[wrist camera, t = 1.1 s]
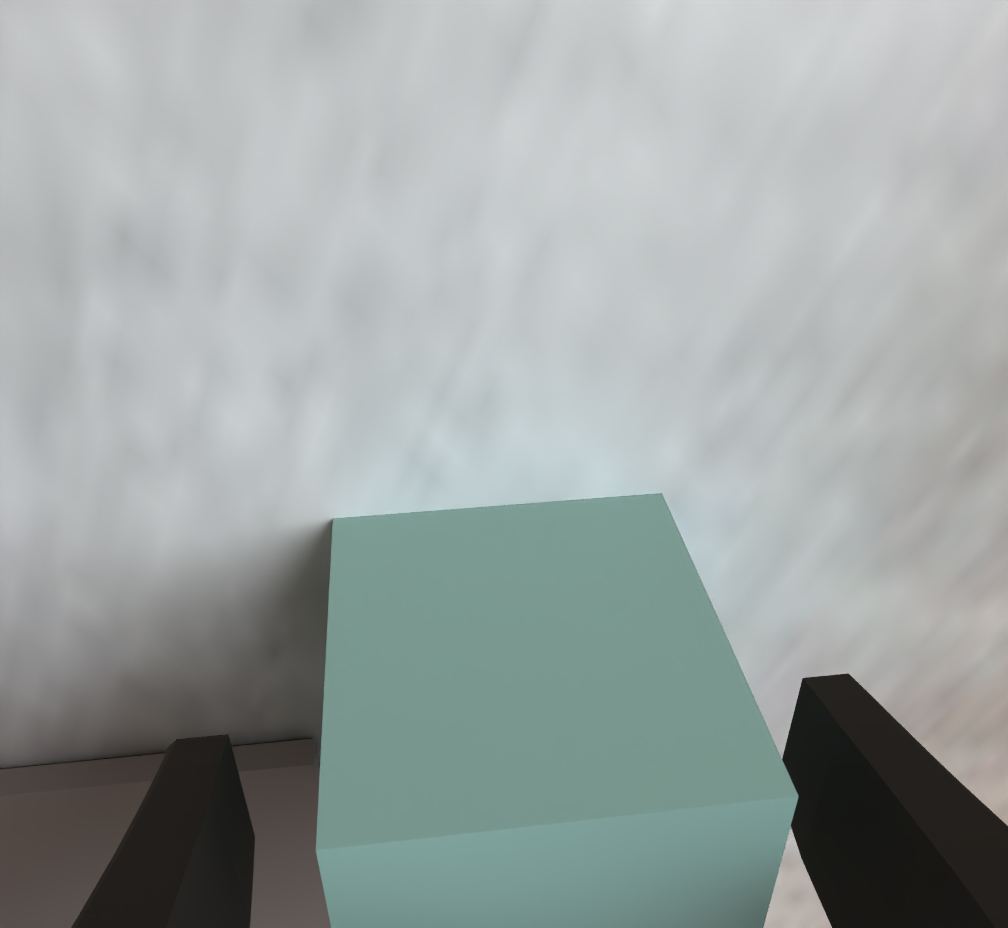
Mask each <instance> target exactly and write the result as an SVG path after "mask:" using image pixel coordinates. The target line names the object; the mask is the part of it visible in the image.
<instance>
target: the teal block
mask: <svg viewBox="0 0 1008 928" xmlns="http://www.w3.org/2000/svg"><path fill="white" fill-rule="evenodd" d="M798 797H799V796H798V794H797V792H796V789H795V787H794V785H793V783H792V781H791V778H790V776H789V774H788V772H787V769H786V767H785V765H784V763H783V761H782V758H781V756H780V754H779V752H778V750H777V747H776V745H775V743H774V741H773V738H772V736H771V734H770V732H769V730H768V727H767V725H766V723H765V721H764V719H763V716H762V714H761V712H760V710H759V707H758V705H757V703H756V701H755V699H754V696H753V694H752V692H751V690H750V687H749V685H748V683H747V681H746V679H745V676H744V674H743V672H742V670H741V668H740V665H739V663H738V661H737V659H736V656H735V654H734V652H733V650H732V648H731V645H730V643H729V641H728V639H727V637H726V634H725V632H724V630H723V628H722V625H721V623H720V621H719V619H718V617H717V614H716V612H715V610H714V608H713V606H712V603H711V601H710V599H709V597H708V594H707V592H706V590H705V588H704V586H703V583H702V581H701V579H700V577H699V575H698V572H697V570H696V568H695V566H694V563H693V561H692V559H691V557H690V555H689V552H688V550H687V548H686V546H685V544H684V541H683V539H682V537H681V535H680V532H679V530H678V528H677V526H676V524H675V521H674V519H673V517H672V515H671V512H670V510H669V508H668V506H667V504H666V501H665V499H664V497H663V495H662V493H659V494H646V495H633V496H620V497H607V498H594V499H581V500H568V501H555V502H542V503H529V504H516V505H503V506H490V507H477V508H464V509H451V510H438V511H425V512H412V513H399V514H386V515H373V516H360V517H347V518H334V519H333V525H332V544H331V564H330V583H329V603H328V622H327V642H326V661H325V680H324V700H323V719H322V739H321V758H320V777H319V797H318V816H317V836H316V854H317V859H318V864H319V869H320V874H321V879H322V884H323V889H324V894H325V899H326V904H327V909H328V914H329V919H330V924H331V928H763V926H764V923H765V919H766V915H767V911H768V908H769V904H770V900H771V897H772V893H773V889H774V886H775V882H776V878H777V874H778V871H779V867H780V863H781V860H782V856H783V852H784V848H785V845H786V841H787V837H788V834H789V830H790V826H791V823H792V819H793V815H794V811H795V808H796V804H797V800H798Z"/></svg>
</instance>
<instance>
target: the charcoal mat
mask: <svg viewBox="0 0 1008 928" xmlns="http://www.w3.org/2000/svg"><path fill="white" fill-rule="evenodd" d="M232 750H233V754H234V757H235V761H236V765H237V769H238V773H239V777H240V781H241V784H242V788H243V792H244V796H245V800H246V804H247V807H248V811H249V815H250V819H251V823H252V827H253V830H254V834H255V850H254V871H253V889H252V905H251V921H250V928H331V924H330V919H329V914H328V909H327V904H326V899H325V894H324V889H323V884H322V879H321V874H320V869H319V864H318V859H317V854H316V836H317V816H318V797H319V777H320V768H319V762H318V757H317V751H316V746H315V740H314V739H304V740H294V741H284V742H274V743H264V744H253V745H243V746H233V747H232ZM165 754H166V753H162V754H152V755H142V756H132V757H122V758H112V759H101V760H91V761H81V762H71V763H61V764H51V765H41V766H31V767H20V768H10V769H0V928H71V927H72V925H73V924H74V922H75V920H76V919H77V917H78V915H79V914H80V912H81V910H82V909H83V907H84V905H85V903H86V902H87V900H88V898H89V897H90V895H91V893H92V891H93V890H94V888H95V886H96V885H97V883H98V881H99V879H100V878H101V876H102V874H103V873H104V871H105V869H106V867H107V866H108V864H109V862H110V860H111V859H112V857H113V855H114V853H115V852H116V850H117V848H118V846H119V844H120V843H121V841H122V839H123V837H124V835H125V833H126V831H127V830H128V828H129V826H130V824H131V822H132V820H133V819H134V817H135V815H136V813H137V811H138V809H139V807H140V805H141V803H142V801H143V799H144V797H145V795H146V793H147V791H148V789H149V787H150V785H151V783H152V781H153V779H154V777H155V775H156V773H157V771H158V769H159V767H160V765H161V763H162V761H163V759H164V757H165Z"/></svg>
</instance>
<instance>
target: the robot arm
mask: <svg viewBox="0 0 1008 928" xmlns="http://www.w3.org/2000/svg"><path fill="white" fill-rule="evenodd" d="M782 761H783V763H784V765H785V767H786V769H787V772H788V774H789V776H790V778H791V781H792V783H793V785H794V787H795V789H796V792H797V794H798V796H799V797H798V800H797V804H796V808H795V811H794V815H793V819H792V823H791V827H792V830H793V834H794V837H795V840H796V843H797V846H798V849H799V852H800V855H801V858H802V860H803V863H804V865H805V867H806V869H807V872H808V874H809V876H810V879H811V881H812V883H813V885H814V888H815V890H816V892H817V894H818V897H819V899H820V901H821V903H822V906H823V908H824V910H825V912H826V915H827V917H828V919H829V921H830V924H831V926H832V928H1008V826H1007V825H1006V824H1005V823H1004V822H1003V821H1002V820H1001V819H1000V818H998V817H997V816H996V815H995V814H994V813H993V812H992V811H991V810H990V809H989V808H988V807H987V806H985V805H984V804H983V803H982V802H981V801H980V800H979V799H978V798H977V797H976V796H975V795H973V794H972V793H971V792H970V791H969V790H968V789H967V788H966V787H965V786H964V785H963V784H962V783H960V782H959V781H958V780H957V779H956V778H955V777H954V776H953V775H952V774H951V773H950V772H949V771H948V770H947V769H946V768H945V767H944V766H943V765H942V764H940V763H939V762H938V761H937V760H936V759H935V758H934V757H933V756H932V755H931V754H930V753H929V752H928V751H927V750H926V749H925V748H924V747H923V746H922V745H921V744H920V743H919V742H918V741H917V740H916V739H915V738H914V737H913V736H912V735H911V734H910V733H909V732H908V731H907V730H906V729H905V728H904V727H903V726H902V725H901V724H899V723H898V722H897V721H896V720H895V719H894V718H893V717H892V716H891V715H890V714H889V713H888V712H887V711H886V710H885V709H884V708H883V707H882V706H881V705H880V704H879V703H878V702H877V701H876V700H875V699H874V698H873V697H872V696H871V695H870V694H869V693H868V692H867V691H866V690H865V689H864V688H863V687H862V686H861V685H860V684H859V683H858V682H857V681H856V680H855V679H854V678H853V677H851V676H850V675H849V674H840V675H830V676H819V677H809V678H803V679H802V683H801V687H800V691H799V695H798V699H797V703H796V707H795V711H794V715H793V719H792V723H791V727H790V731H789V735H788V739H787V743H786V747H785V751H784V755H783V759H782ZM254 850H255V834H254V830H253V827H252V823H251V819H250V815H249V811H248V807H247V804H246V800H245V796H244V792H243V788H242V784H241V781H240V777H239V773H238V769H237V765H236V761H235V757H234V754H233V750H232V746H231V742H230V738H229V734H227V735H217V736H206V737H196V738H186V739H177V740H176V741H175V742H174V743H173V744H171V745H170V746H169V748H168V750H167V752H166V754H165V757H164V759H163V761H162V763H161V765H160V767H159V769H158V771H157V773H156V775H155V777H154V779H153V781H152V783H151V785H150V787H149V789H148V791H147V793H146V795H145V797H144V799H143V801H142V803H141V805H140V807H139V809H138V811H137V813H136V815H135V817H134V819H133V820H132V822H131V824H130V826H129V828H128V830H127V831H126V833H125V835H124V837H123V839H122V841H121V843H120V844H119V846H118V848H117V850H116V852H115V853H114V855H113V857H112V859H111V860H110V862H109V864H108V866H107V867H106V869H105V871H104V873H103V874H102V876H101V878H100V879H99V881H98V883H97V885H96V886H95V888H94V890H93V891H92V893H91V895H90V897H89V898H88V900H87V902H86V903H85V905H84V907H83V909H82V910H81V912H80V914H79V915H78V917H77V919H76V920H75V922H74V924H73V925H72V927H71V928H250V921H251V905H252V889H253V871H254Z"/></svg>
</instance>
